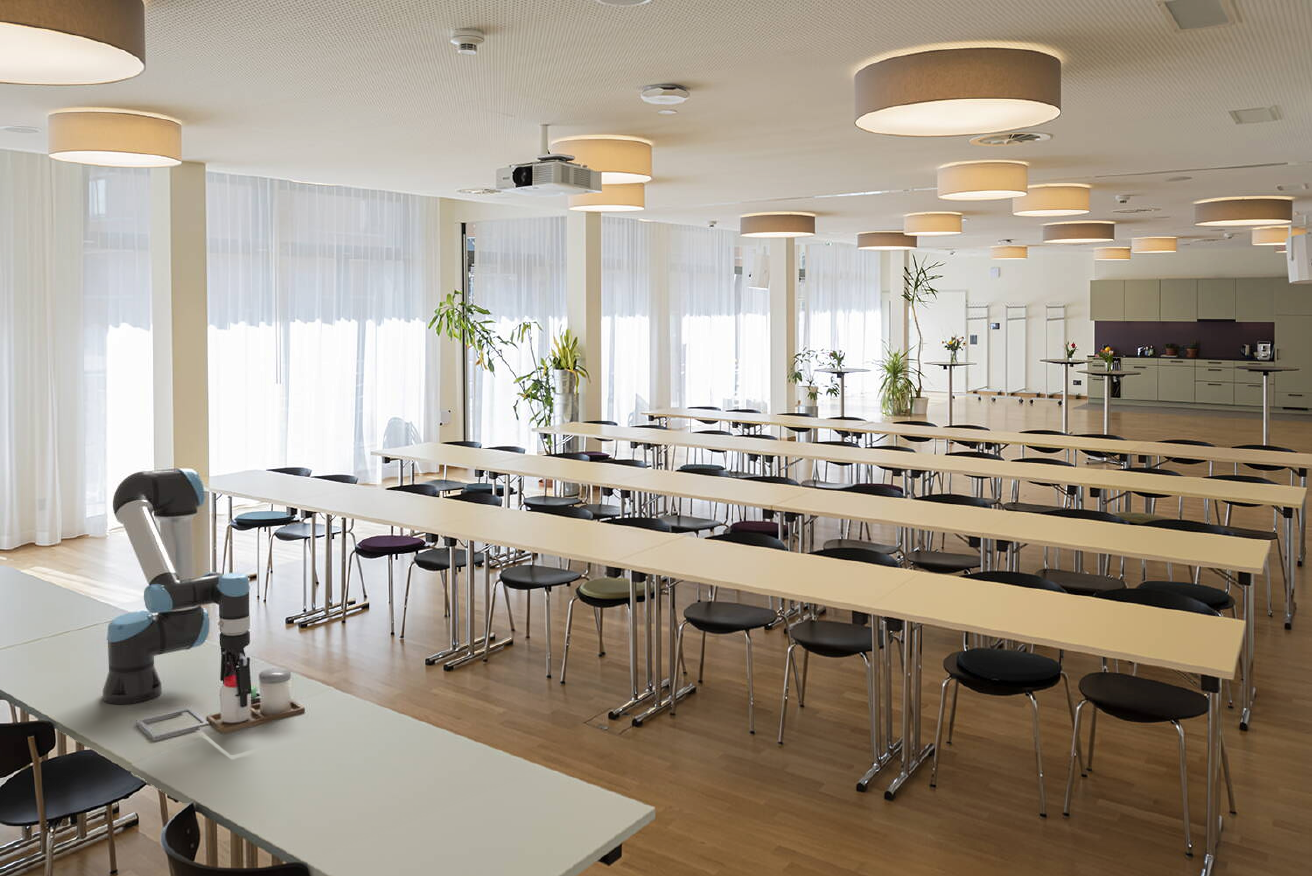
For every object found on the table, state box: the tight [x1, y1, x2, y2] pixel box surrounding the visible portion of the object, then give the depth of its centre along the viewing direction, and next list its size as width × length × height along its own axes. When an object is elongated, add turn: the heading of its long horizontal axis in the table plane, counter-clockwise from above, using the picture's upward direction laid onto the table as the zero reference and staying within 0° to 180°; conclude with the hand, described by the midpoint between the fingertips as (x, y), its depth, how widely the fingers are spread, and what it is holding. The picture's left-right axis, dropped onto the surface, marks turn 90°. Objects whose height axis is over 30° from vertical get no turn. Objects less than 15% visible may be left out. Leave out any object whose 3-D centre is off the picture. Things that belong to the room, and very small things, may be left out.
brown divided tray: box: [205, 698, 306, 735], centre depth 273 cm, size 12×22×2 cm, turn 134°
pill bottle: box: [219, 675, 251, 723], centre depth 269 cm, size 8×8×11 cm
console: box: [251, 689, 260, 705], centre depth 282 cm, size 7×7×3 cm
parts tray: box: [135, 707, 211, 742], centre depth 267 cm, size 14×14×1 cm
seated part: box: [258, 667, 292, 716], centre depth 276 cm, size 8×8×11 cm
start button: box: [251, 685, 258, 698], centre depth 282 cm, size 4×4×4 cm
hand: (236, 712), depth 269 cm, fingers closed on pill bottle, 8 cm apart
